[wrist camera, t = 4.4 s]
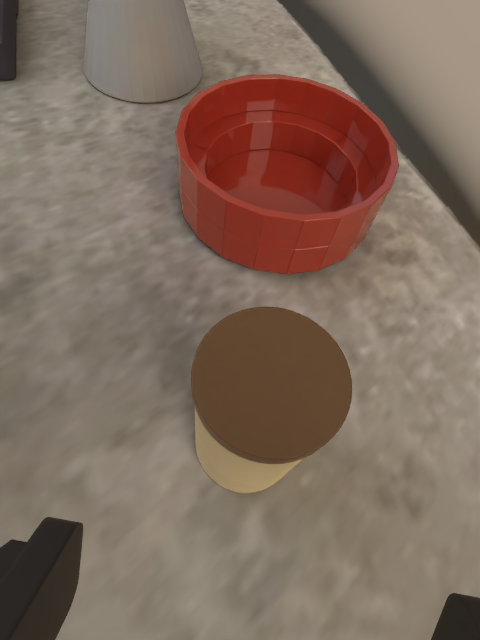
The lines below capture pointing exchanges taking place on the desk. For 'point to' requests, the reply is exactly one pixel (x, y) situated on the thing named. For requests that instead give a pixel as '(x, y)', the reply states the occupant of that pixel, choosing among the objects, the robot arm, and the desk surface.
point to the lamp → (141, 50)
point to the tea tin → (265, 396)
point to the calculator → (8, 39)
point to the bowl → (282, 171)
